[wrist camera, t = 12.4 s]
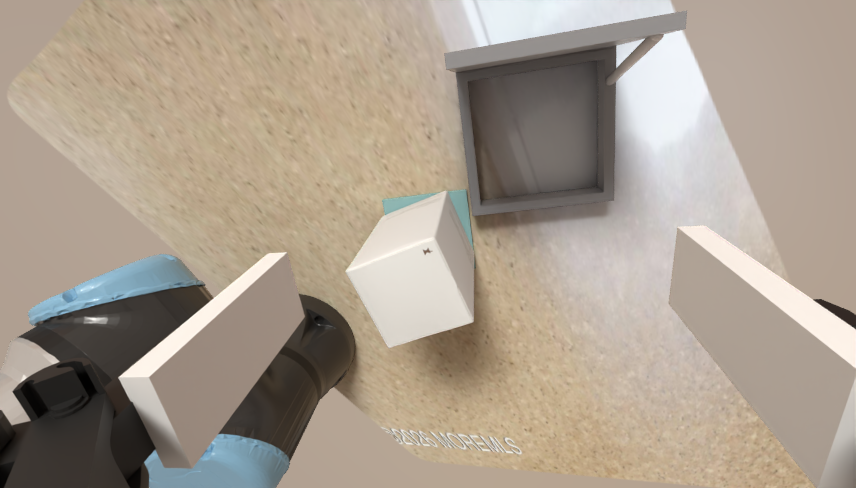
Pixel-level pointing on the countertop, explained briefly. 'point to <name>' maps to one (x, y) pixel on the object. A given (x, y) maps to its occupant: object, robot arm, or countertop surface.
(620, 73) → the case
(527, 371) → the countertop surface
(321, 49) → the countertop surface
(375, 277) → the supplement box
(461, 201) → the mat
